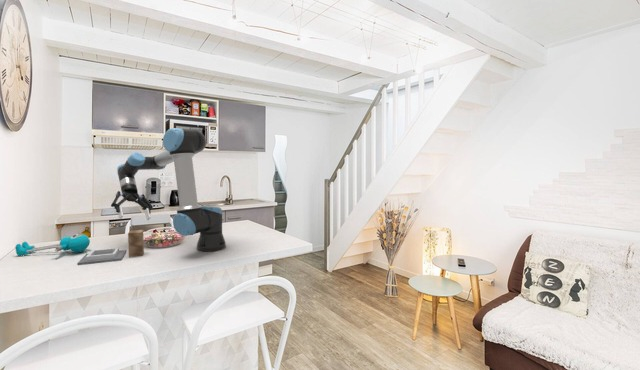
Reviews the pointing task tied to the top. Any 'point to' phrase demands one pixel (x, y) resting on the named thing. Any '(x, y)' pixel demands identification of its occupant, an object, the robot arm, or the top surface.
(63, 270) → the top surface
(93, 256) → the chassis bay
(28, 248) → the toy
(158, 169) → the robot arm
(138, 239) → the brown wooden block
